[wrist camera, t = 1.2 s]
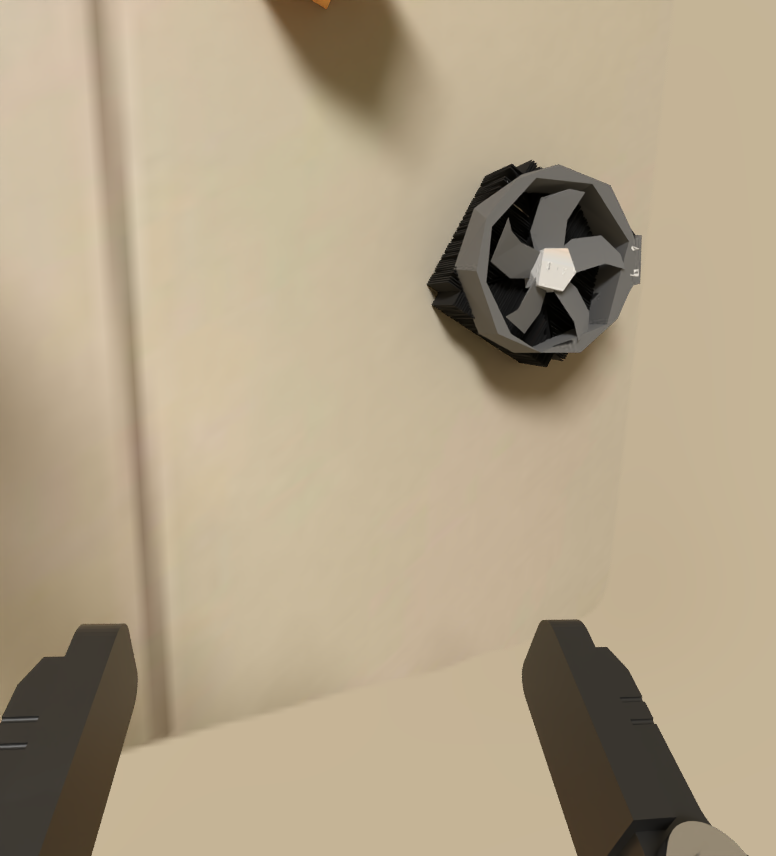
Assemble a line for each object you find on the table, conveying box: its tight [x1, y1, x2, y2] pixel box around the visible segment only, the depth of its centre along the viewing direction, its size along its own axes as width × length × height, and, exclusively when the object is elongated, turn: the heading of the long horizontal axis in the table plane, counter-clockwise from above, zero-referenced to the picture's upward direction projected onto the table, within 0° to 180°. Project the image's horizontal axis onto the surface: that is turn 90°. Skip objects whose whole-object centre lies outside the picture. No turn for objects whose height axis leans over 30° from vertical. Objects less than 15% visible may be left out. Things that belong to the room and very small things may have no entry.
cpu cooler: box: [427, 160, 642, 367], centre depth 33 cm, size 10×6×10 cm
